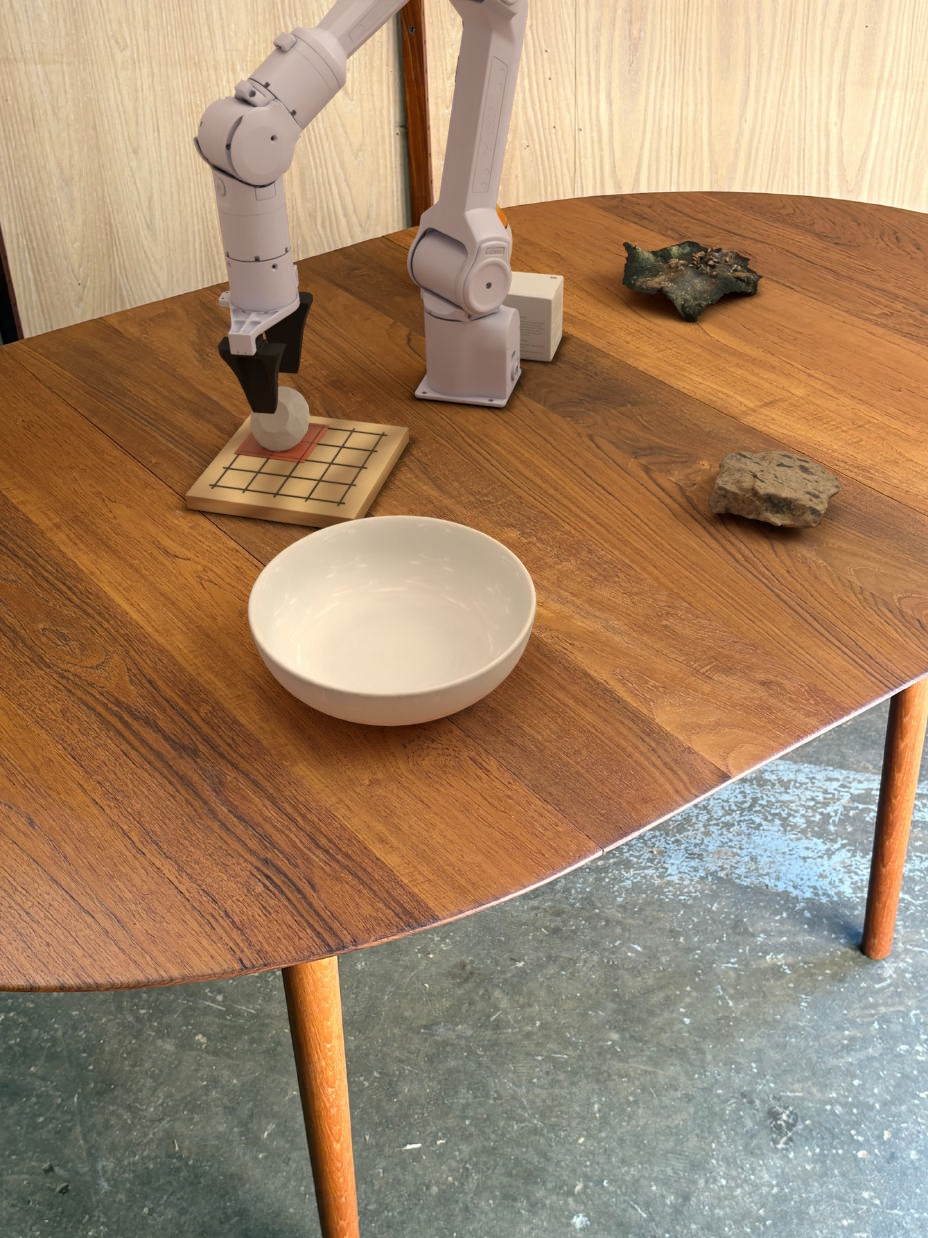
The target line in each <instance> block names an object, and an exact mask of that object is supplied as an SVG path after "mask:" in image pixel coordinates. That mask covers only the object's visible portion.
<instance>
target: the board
mask: <svg viewBox="0 0 928 1238" xmlns="http://www.w3.org/2000/svg"><path fill="white" fill-rule="evenodd" d="M250 422H251V413H250V414H249V415H248V417H247V418H246V419H245V420H244V422H243V423H242V424H241V425H240V427H239V428H238V429H237V430H236V431H235V433H234V434H233V435H232V436H231V438H230V439H229V440H228V441H227V443H226V444H225V445H224V446H223V448H222V449H221V450H220V451H219V452H218V453H217V455H216V456H215V457H214V459H213V460H212V461H211V462H210V464H209V465H208V466H207V467H206V468H205V470H204V471H203V472H202V474H201V475H200V476H199V477H198V478H197V479H196V480H195V482H194V483H193V484H192V486H191V487H190V488H189V489H188V491H187V492H186V493H185V495H184V496H185V502H186V507H187V509H188V510H194V511H202V512H207V513H215V514H223V515H229V516H237V517H243V518H250V519H257V520H265V521H272V522H280V523H287V524H292V525H299V526H307V527H314V528H320V529H324V528H327V527H330V526H333V525H336V524H340V523H343V522H348V521H352V520H357V519H363V518H365V516H366V514H367V513H368V511H369V509H370V508H371V506H372V504H373V503H374V501H375V499H376V498H377V497H378V494H379V492H380V491H381V489H382V487H383V486H384V484H385V483H386V481H387V479H388V477H389V475H390V474H391V472H392V470H393V468H394V467H395V465H396V464H397V462H398V460H399V458H400V457H401V455H402V454H403V452H404V450H405V448H406V447H407V445H408V443H409V442H410V434H409V433H410V432H409V431H410V429H409V427H407V426H399V425H391V424H390V425H389V424H382V423H373V422H367V421H366V422H365V421H357V420H351V419H350V420H348V419H341V418H334V417H333V418H332V417H325V416H324V417H323V416H317V415H310V421H309V425H308V431H307V432H306V434H305V435H304V437H303V438H302V440H301V442H299V443H298V444H296V445H295V446H294V447H293V448H291V449H288V450H284V451H280V452H278V451H272V450H268V449H266V448H264V447H263V446H261V445H260V444H259V443H258V441H257V440H256V439H255V438H254V435H253V432H252V429H251V426H250Z"/></svg>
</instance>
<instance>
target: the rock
mask: <svg viewBox="0 0 928 1238" xmlns="http://www.w3.org/2000/svg"><path fill="white" fill-rule="evenodd" d="M718 468H719V470H718V474H717V477H716V478H715V481H714V483H713V487H712V492H711V494H710V496H709V498H708V500H707V507H708V510H709V512H712V513H714V514H726V513H731V514H734V515H737V516H739V515H740V516H742V517H744V518H747V519H752V520H759V521H762V522H767V523H769V524H771V525H774V526H776V527H780V526H781V525H782V527H784V528H796V529H805V530H806V529H807V530H809V529H816V528H818V527H819V526H820V525H822V522H823V518H824V516H825V512H827V509H828V508H829V500H830V499H832V498H833V497H835V496H836V495H838V494H839V493H840V492H841V490H842V487H843V484H842V483H841V482H840V480H839V478H838V477H837V476H834V475H831V474H830V472H829V471H826V469H825V467H823V466H822V465H821V464H820V463H817V462H812V461H811V460H809V459H808V458H804V457H800V456H798V455H797V454H796V453H790V452H789V451H786V450H785V451H784V450H771V451H766V452H764V451H759V452H757V453H753V452H750V451H746V450H742V451H738V452H730V453H727V454H726V455H725V456H723V458H722V461H721V462H720V463H719V466H718Z"/></svg>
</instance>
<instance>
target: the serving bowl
mask: <svg viewBox="0 0 928 1238" xmlns="http://www.w3.org/2000/svg"><path fill="white" fill-rule="evenodd" d="M536 591H537V590H536V588H535V585H534V581H533V578H532V576H531V574H530V572H529V570H527V567H526V566H525V565H524V564H523V562H522V561H521V560H520V558H518V557H517V555H516V554H515V553H514V552H513V551H512V550H510V549H509V548H508V547H506V545H504V544H503V543H501V542H500V541H498V540H496V539H495V538H493V537H492V536H490V535H488V534H486V533H484V532H482V531H479V530H477V529H474V528H472V527H470V526H468V525H464V524H461V523H457V522H454V521H451V520H446V519H440V518H436V517H430V516H418V515H382V516H371V517H364V518H363V519H357V520H352V521H348V522H343V523H340V524H336V525H333V526H330V527H327V528H320V529H319V530H316V531H314V532H311V533H310V534H307V535H306V536H304V537H302V538H300V539H298V540H297V541H295V542H293V543H292V544H290V545H289V546H287V547H286V548H284V549H283V550H282V551H280V552H279V553H278V554H277V555H276V556H275V557H273V558H272V559H271V560H270V561H269V562H268V563H267V565H265V567H263V569H262V571H261V572H260V573H259V575H258V576H257V577H256V580H255V581H254V583H253V586H252V588H251V590H250V593H249V597H248V602H247V619H248V625H249V629H250V633H251V637H252V638H253V641H254V644H255V647H256V649H257V651H258V653H259V656H260V658H261V659H262V661H263V662H264V664H265V666H266V668H267V670H268V671H269V672H270V673H271V675H272V676H273V677H274V678H275V680H276V681H277V682H278V683H279V684H280V685H281V686H282V687H283V688H284V689H285V690H286V691H287V692H289V693H290V694H291V695H292V696H293V697H295V698H296V699H298V700H299V701H300V702H302V703H304V704H305V705H307V706H309V707H311V708H313V709H315V710H316V711H319V712H321V713H323V714H325V715H328V716H331V717H334V718H336V719H340V720H344V721H346V722H351V723H356V724H361V725H362V724H363V725H369V726H380V727H382V726H384V727H397V726H409V725H417V724H423V723H427V722H432V721H435V720H439V719H442V718H445V717H448V716H451V715H453V714H457V713H458V712H460V711H463V710H464V709H466V708H468V707H470V706H472V705H474V704H476V703H477V702H479V701H480V700H482V699H484V698H485V697H487V695H489V694H491V692H493V691H494V690H495V689H496V688H497V687H498V686H500V685H501V684H502V683H503V682H504V681H505V680H506V678H507V677H508V676H509V675H510V674H511V672H513V670H514V669H515V667H516V666H517V664H518V662H519V661H520V659H521V657H522V656H523V654H524V652H525V650H526V648H527V645H528V644H529V643H528V642H529V641H530V637H531V634H532V630H533V626H534V623H535V617H536V614H537V613H536V612H537V593H536Z"/></svg>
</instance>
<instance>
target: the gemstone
mask: <svg viewBox="0 0 928 1238" xmlns="http://www.w3.org/2000/svg"><path fill="white" fill-rule="evenodd" d="M250 414H251V422H250V426H251V429H252V432H253V435H254V438H255V439H256V440H257V441H258V443H259V444H260V445H261V446H263V447H264V448H266V449H268V450H272V451H278V452H280V451H284V450H288V449H291V448H293V447H294V446H295V445H296V444H298V443H299V442H301V440H302V438H303V437H304V435H305V434H306V432H307V431H308V425H309V421H310V416H311V414H310V406H309V404H308V402H307V401H306V399H305V397H304V395H303V394H302V393H300V392H299V391H298V390H296V389H294V388H292V387H290V386H284V385H283V386H282V385H281V386H279V385H278V404H277V409H276V412H275V413H274V414H265V413H254V412H253V411H252V410H251V411H250Z"/></svg>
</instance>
